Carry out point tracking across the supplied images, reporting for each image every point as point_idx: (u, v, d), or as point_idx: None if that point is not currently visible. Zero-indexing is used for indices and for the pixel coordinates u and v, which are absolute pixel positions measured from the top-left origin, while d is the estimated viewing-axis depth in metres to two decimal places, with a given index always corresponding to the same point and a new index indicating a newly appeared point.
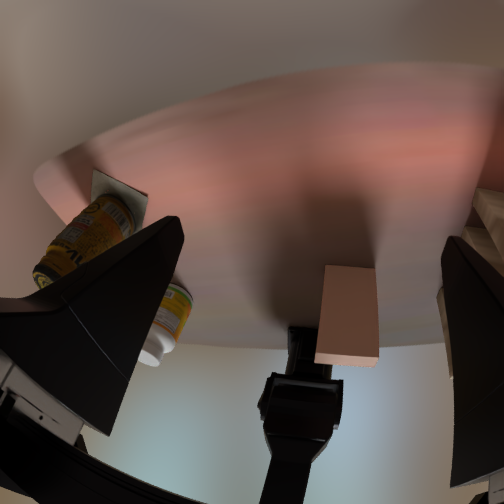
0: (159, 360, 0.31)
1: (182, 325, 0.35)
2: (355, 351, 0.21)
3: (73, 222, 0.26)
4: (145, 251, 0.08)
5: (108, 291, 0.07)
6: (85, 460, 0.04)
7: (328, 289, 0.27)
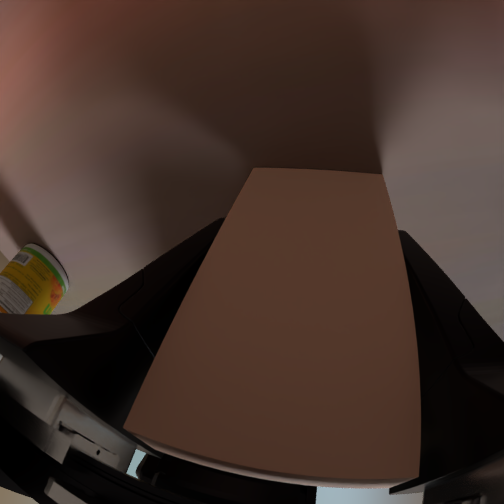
0: None
1: (39, 311, 0.18)
2: (305, 450, 0.04)
3: None
4: None
5: (171, 303, 0.07)
6: (85, 460, 0.04)
7: (242, 212, 0.09)
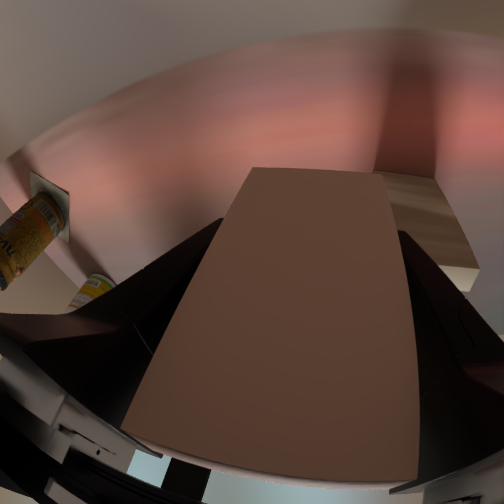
0: None
1: None
2: (302, 452, 0.04)
3: (10, 217, 0.26)
4: None
5: (171, 303, 0.07)
6: (85, 460, 0.04)
7: (241, 212, 0.09)
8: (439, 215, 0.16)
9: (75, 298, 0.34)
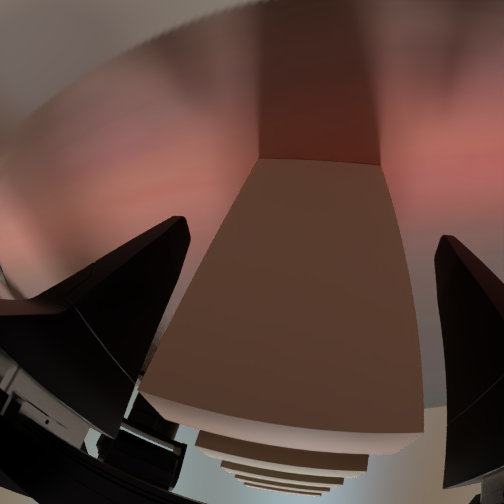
0: None
1: None
2: (314, 405, 0.04)
3: None
4: (152, 252, 0.08)
5: (115, 292, 0.07)
6: (85, 460, 0.04)
7: (249, 197, 0.10)
8: None
9: None
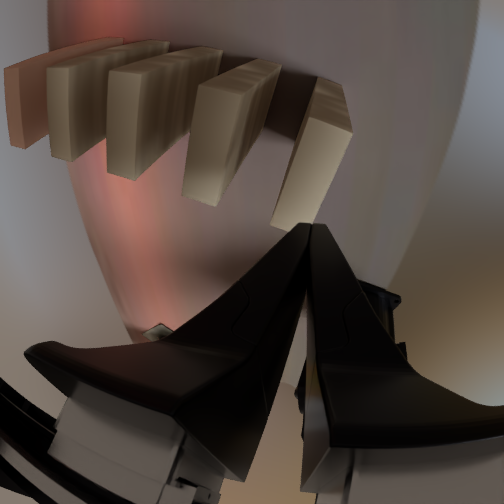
0: None
1: None
2: None
3: None
4: (301, 266, 0.07)
5: (279, 318, 0.06)
6: None
7: None
8: None
9: None
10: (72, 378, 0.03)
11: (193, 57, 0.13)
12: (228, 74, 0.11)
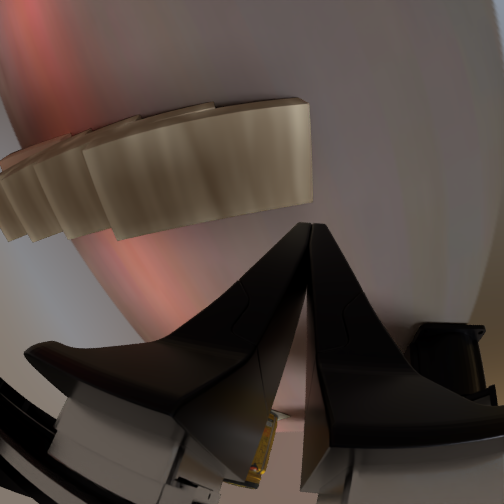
0: None
1: None
2: None
3: None
4: (301, 266, 0.07)
5: (279, 318, 0.06)
6: None
7: None
8: None
9: None
10: (72, 378, 0.03)
11: None
12: (82, 140, 0.13)
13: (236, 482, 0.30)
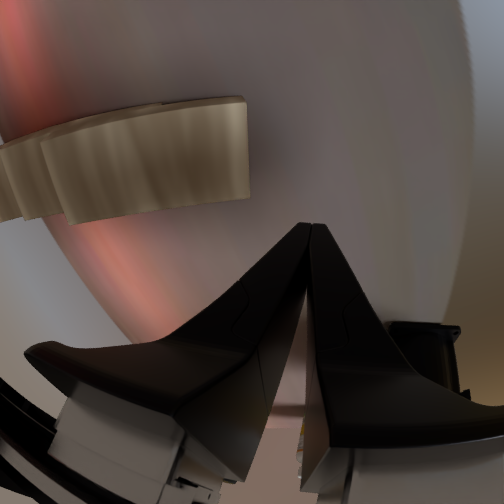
0: None
1: None
2: None
3: None
4: (301, 266, 0.07)
5: (279, 318, 0.06)
6: None
7: None
8: None
9: None
10: (72, 378, 0.03)
11: None
12: (44, 129, 0.13)
13: None
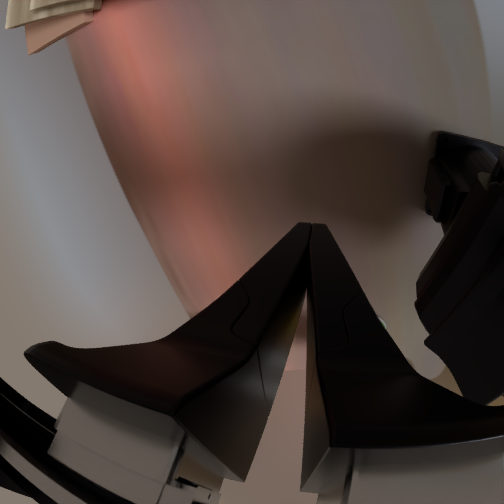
0: None
1: None
2: None
3: None
4: (301, 266, 0.07)
5: (280, 318, 0.06)
6: None
7: None
8: None
9: None
10: (72, 378, 0.03)
11: None
12: None
13: None
